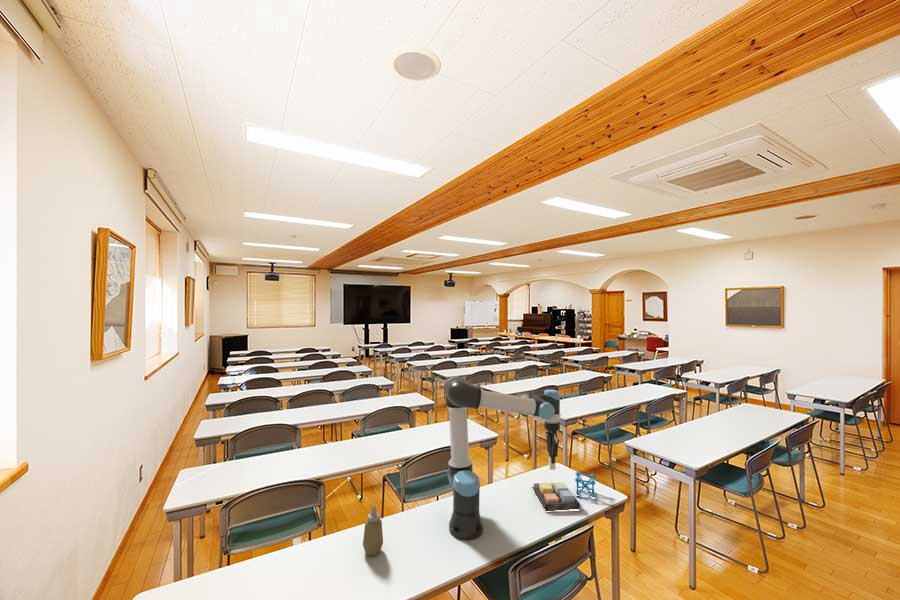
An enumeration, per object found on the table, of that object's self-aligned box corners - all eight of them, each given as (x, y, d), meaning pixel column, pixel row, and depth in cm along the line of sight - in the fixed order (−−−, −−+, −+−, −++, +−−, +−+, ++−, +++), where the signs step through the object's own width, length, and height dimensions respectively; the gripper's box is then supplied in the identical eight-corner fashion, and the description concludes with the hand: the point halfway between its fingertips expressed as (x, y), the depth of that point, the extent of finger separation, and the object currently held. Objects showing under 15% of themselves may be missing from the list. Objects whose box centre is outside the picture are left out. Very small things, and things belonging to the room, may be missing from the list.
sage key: (557, 494, 186) (557, 488, 186) (553, 489, 192) (553, 483, 192) (568, 494, 186) (568, 488, 187) (564, 488, 192) (564, 483, 192)
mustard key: (542, 494, 186) (542, 488, 186) (539, 489, 191) (539, 483, 191) (553, 494, 186) (553, 488, 186) (549, 489, 192) (549, 483, 192)
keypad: (545, 512, 176) (545, 504, 176) (531, 489, 199) (531, 482, 199) (579, 511, 177) (579, 503, 177) (562, 488, 200) (561, 481, 200)
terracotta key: (547, 505, 178) (547, 499, 178) (544, 499, 183) (544, 493, 183) (558, 505, 178) (558, 499, 178) (554, 499, 184) (554, 493, 184)
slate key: (563, 502, 178) (563, 496, 178) (559, 496, 184) (559, 490, 184) (574, 502, 179) (574, 495, 179) (570, 496, 184) (570, 490, 184)
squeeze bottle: (360, 548, 148) (361, 503, 148) (380, 543, 151) (381, 499, 151) (364, 560, 140) (365, 513, 141) (385, 555, 143) (386, 508, 144)
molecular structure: (595, 492, 196) (595, 473, 197) (595, 501, 187) (595, 481, 187) (575, 489, 200) (575, 470, 200) (574, 497, 191) (574, 478, 191)
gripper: (564, 425, 176) (564, 474, 175) (554, 417, 189) (555, 463, 188) (549, 425, 176) (549, 474, 175) (540, 417, 189) (540, 463, 188)
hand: (552, 468), depth 182 cm, fingers closed
